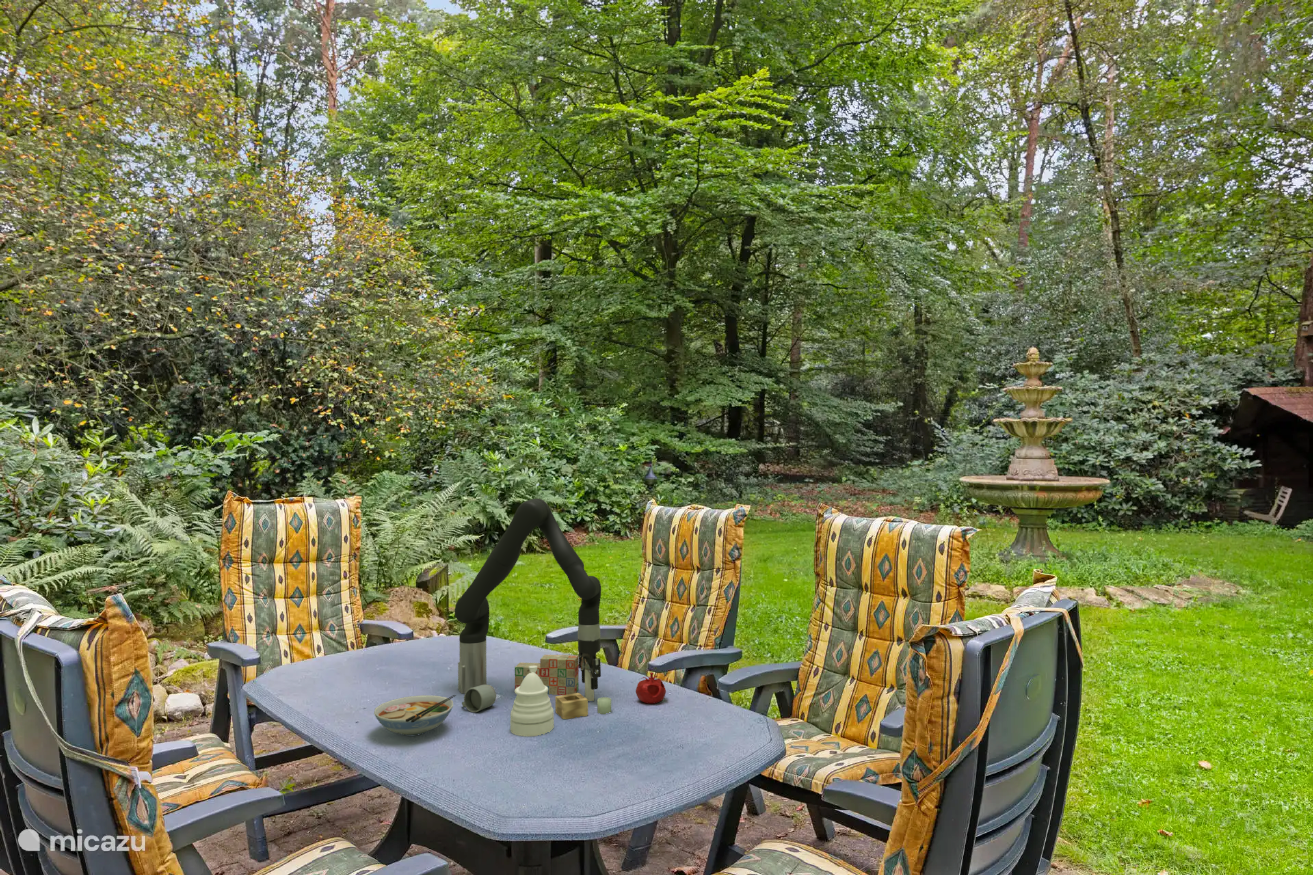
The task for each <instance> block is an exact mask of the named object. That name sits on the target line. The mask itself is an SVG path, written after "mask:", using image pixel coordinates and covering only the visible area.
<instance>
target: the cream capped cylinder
mask: <svg viewBox="0 0 1313 875" xmlns="http://www.w3.org/2000/svg"><path fill="white" fill-rule="evenodd" d="M592 673H593V672H592ZM584 697H585V698H586V699H588V701H593V702H594V701H595V690H592V689H591V676H590V672H588V670H587V665H586V664H585V683H584Z"/></svg>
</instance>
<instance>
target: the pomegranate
mask: <svg viewBox="0 0 1313 875" xmlns="http://www.w3.org/2000/svg"><path fill="white" fill-rule="evenodd" d="M649 674H650V676H649V675H645V676H643V677H641V678H640V681H639V682H637V685H636V689H635V694H636V697H637V698H638V700H639V701H640V702H643V703H644V704H649V705H653V704H658V703H660V702H662V701H663V700H664V699H665V697H666V693H667V691H666V688H665V684H664V683H663V679H662V680H661V678H658V677H659V676H658V675H654V672H650V673H649ZM655 678H656V679H655Z"/></svg>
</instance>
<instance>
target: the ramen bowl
mask: <svg viewBox="0 0 1313 875" xmlns="http://www.w3.org/2000/svg"><path fill="white" fill-rule="evenodd" d="M456 696H457V694H453V695H451V696H449V697H445V696H439V695H426V694H425V695H424V694H423V695H411V696H405V697H400V698H396V699H391V700H389V701H385V702H383V703H380V704H379V705H378V706H377V707H375V708H374V713H373V715H374V716H375V718H376V720H378V723H380V725H381V726H382V727H383V728H385V729H387V730H388V731H390V732H392V733H395V734H400V735H402V736H406V735H415V736H419V735H418V734H420V735H423V734H425V733H427V732H428V731H431V730H434V729H435V728H437V727H439V726H440V725H441V724H442V723H443V722H444V721H445V720H446V719H447V718H448V716H449V715H450V713H451V712H452V709H453V707H454V701H453V700H452V699H453V698H455V697H456ZM422 733H423V734H422Z"/></svg>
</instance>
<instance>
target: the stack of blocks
mask: <svg viewBox="0 0 1313 875" xmlns="http://www.w3.org/2000/svg"><path fill="white" fill-rule="evenodd" d="M529 666H537V671H536V672H535V674H537V675H538V676H539V677H540V679H541V680H542V682H543V684H544V685H545V686H547V687H548V692H547V694H548V696H549V695H550V694H552V695H553V696H555V695H556V696H561V695H568V694H574V693H578V692H579V683H580V682H579V672H580V671H579V669H580V668H579V655H570V654H544V655H542V657H541V658H540V659H539V662H519V663H518V664H517V665H516V666H514V690H515V689H516V688H517V687H519V686H520V685H521V683H522V681H523V680H524V678H525V677H526V676H527V675H528V674H529V673H531V672H530V670H529ZM552 695H551V696H552Z"/></svg>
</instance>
